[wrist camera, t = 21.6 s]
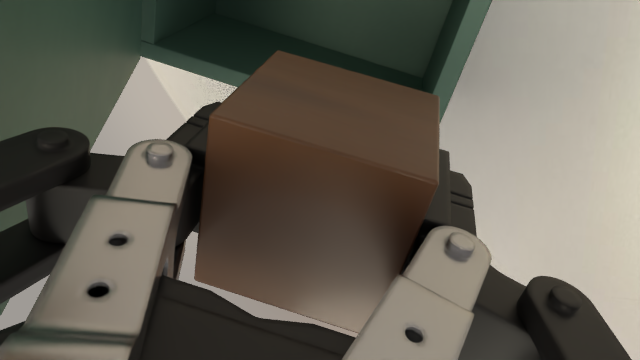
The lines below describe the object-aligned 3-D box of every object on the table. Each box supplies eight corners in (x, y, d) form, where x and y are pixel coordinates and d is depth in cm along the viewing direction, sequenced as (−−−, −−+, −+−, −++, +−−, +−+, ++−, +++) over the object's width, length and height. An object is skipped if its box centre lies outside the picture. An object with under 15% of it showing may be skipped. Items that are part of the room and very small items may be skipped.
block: (390, 226, 15) (374, 340, 11) (254, 184, 15) (192, 280, 11) (440, 95, 12) (440, 182, 8) (276, 48, 12) (207, 113, 9)
